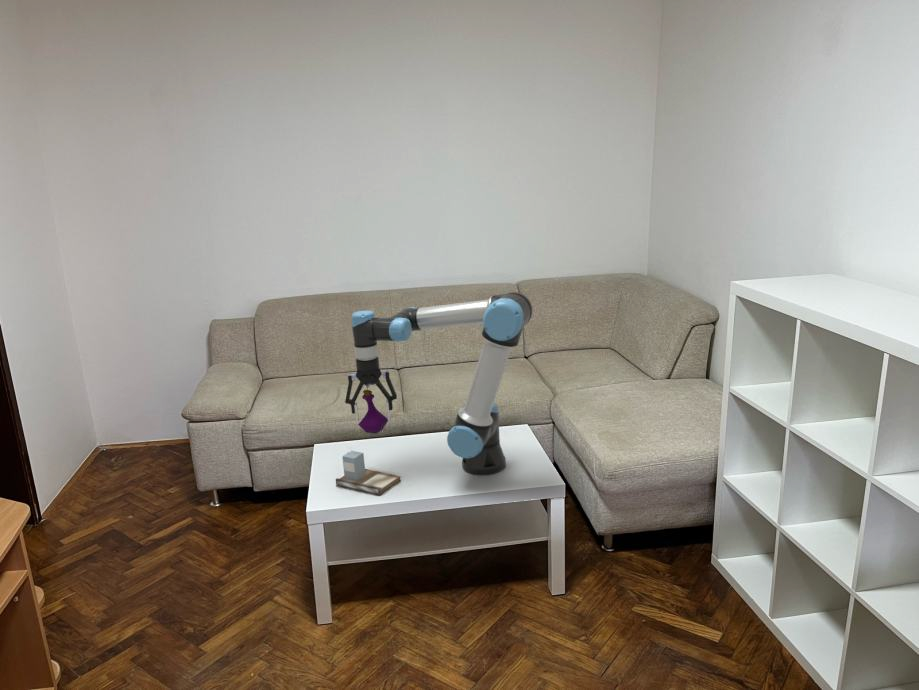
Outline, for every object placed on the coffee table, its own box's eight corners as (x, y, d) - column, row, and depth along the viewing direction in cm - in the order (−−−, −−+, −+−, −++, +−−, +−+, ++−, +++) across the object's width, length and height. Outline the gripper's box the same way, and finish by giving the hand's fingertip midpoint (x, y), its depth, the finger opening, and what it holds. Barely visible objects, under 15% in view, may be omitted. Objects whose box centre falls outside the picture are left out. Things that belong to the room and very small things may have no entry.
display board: (400, 481, 242) (400, 474, 241) (379, 496, 232) (378, 488, 231) (358, 472, 251) (357, 465, 250) (336, 486, 241) (335, 479, 240)
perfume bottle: (377, 436, 240) (372, 384, 236) (359, 433, 244) (353, 382, 239) (389, 428, 246) (384, 378, 242) (371, 426, 250) (366, 376, 246)
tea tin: (365, 474, 244) (363, 452, 242) (356, 480, 239) (353, 458, 237) (354, 472, 246) (351, 450, 244) (344, 478, 242) (342, 456, 240)
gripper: (400, 351, 243) (406, 413, 248) (333, 357, 242) (340, 419, 247) (400, 357, 236) (406, 421, 241) (331, 363, 234) (339, 427, 240)
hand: (373, 420), depth 244 cm, fingers closed on perfume bottle, 10 cm apart
